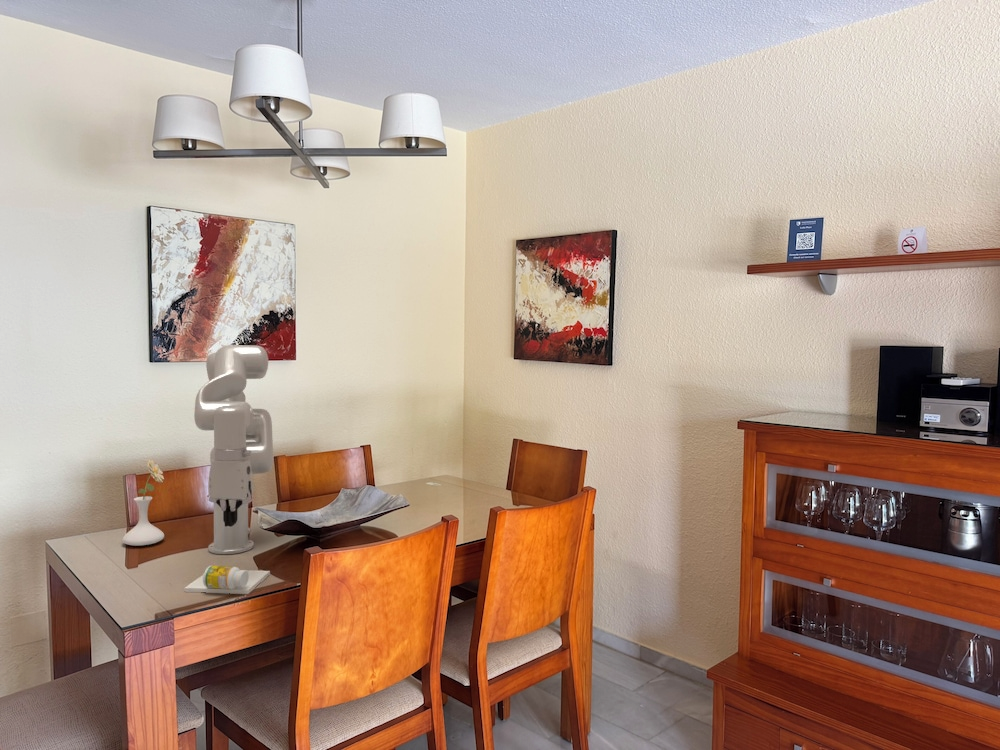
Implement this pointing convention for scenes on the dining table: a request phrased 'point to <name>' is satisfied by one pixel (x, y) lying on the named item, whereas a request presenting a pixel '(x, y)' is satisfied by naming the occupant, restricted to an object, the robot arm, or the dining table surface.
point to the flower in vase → (145, 514)
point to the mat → (253, 581)
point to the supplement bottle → (224, 577)
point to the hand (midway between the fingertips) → (230, 524)
